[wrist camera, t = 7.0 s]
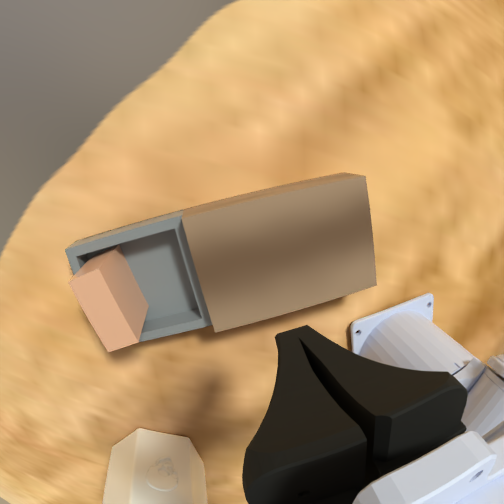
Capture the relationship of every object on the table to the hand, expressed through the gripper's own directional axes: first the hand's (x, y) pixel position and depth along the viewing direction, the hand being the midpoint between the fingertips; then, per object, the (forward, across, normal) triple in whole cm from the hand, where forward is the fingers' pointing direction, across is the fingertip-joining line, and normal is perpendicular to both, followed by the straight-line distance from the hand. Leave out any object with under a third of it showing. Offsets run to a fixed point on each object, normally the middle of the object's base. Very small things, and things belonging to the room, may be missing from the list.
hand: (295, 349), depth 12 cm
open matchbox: (+9, -2, -2) cm, 10 cm away
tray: (+9, +7, -2) cm, 12 cm away
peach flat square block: (+7, +8, -2) cm, 10 cm away
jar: (+10, +13, +16) cm, 23 cm away
